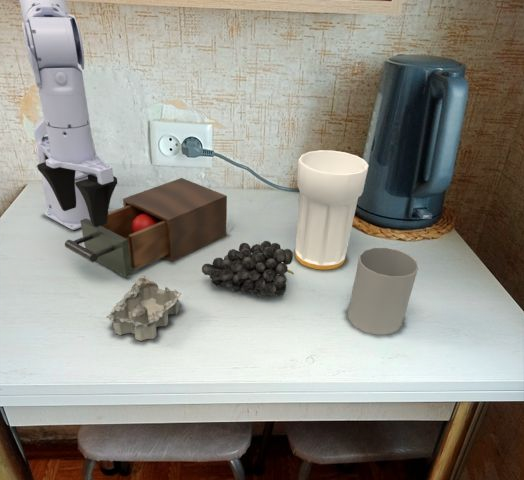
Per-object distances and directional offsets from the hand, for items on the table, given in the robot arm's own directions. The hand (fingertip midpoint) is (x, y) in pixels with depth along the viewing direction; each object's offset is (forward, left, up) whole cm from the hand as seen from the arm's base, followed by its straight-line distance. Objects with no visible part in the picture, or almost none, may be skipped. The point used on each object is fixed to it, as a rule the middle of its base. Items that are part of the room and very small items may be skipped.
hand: (84, 216), depth 77 cm
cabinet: (0, +19, -10) cm, 21 cm away
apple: (-1, +12, -6) cm, 13 cm away
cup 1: (+23, +32, -11) cm, 41 cm away
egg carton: (+15, -2, -11) cm, 19 cm away
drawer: (0, +7, -10) cm, 12 cm away
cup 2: (+40, +22, -11) cm, 47 cm away
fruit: (+20, +15, -11) cm, 27 cm away
